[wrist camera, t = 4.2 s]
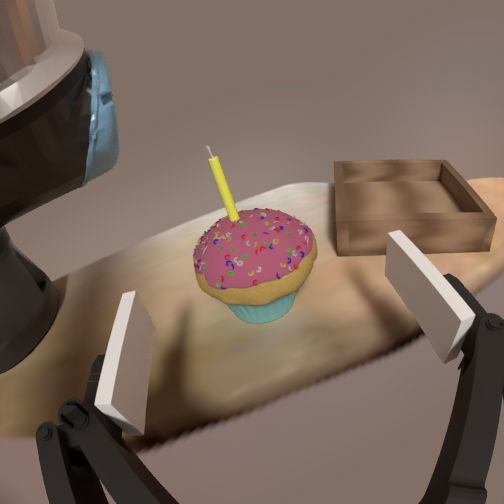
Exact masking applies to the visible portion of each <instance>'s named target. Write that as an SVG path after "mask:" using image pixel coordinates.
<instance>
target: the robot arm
mask: <svg viewBox="0 0 504 504" xmlns="http://www.w3.org/2000/svg"><path fill="white" fill-rule="evenodd" d="M118 156H119V136H118V126H117V118H116V112H115V105H114V102H113V100H112V90H111V81H110V76H109V71H108V66H107V62H106V59H105V57H104V54H103V53H102V52H101V51H100V50H87V51H85V48H84V43H83V40H82V38H81V37H80V36H79V35H77V34H75V33H72V32H69V31H66V30H63V29H60V28H59V24H58V20H57V16H56V11H55V7H54V2H53V0H0V373H2V372H4V371H6V370H8V369H10V368H11V367H13V366H14V365H15V364H17V363H18V362H19V361H21V360H22V359H23V358H24V357H25V356H26V355H27V354H28V353H29V352H30V351H31V350H32V349H33V348H34V347H35V346H36V345H37V344H38V342H39V341H40V340H41V339H42V337H43V336H44V335H45V333H46V332H47V330H48V329H49V327H50V325H51V323H52V321H53V319H54V317H55V315H56V312H57V309H58V304H59V295H58V292H57V290H56V289H55V287H54V285H53V284H52V282H51V281H50V279H49V277H48V276H47V275H46V274H45V273H44V272H43V271H42V270H41V269H39V268H38V267H37V266H36V265H35V264H34V263H33V262H32V261H31V260H30V259H29V258H28V257H27V256H26V255H24V254H23V253H22V252H21V251H20V250H19V249H18V248H17V247H16V246H15V245H14V243H13V242H12V240H11V238H10V236H9V234H8V232H7V230H6V228H5V227H4V225H6V224H8V223H9V222H11V221H13V220H15V219H16V218H19V217H20V216H22V215H24V214H26V213H28V212H30V211H32V210H34V209H36V208H38V207H39V206H42V205H43V204H45V203H48V202H50V201H52V200H54V199H56V198H58V197H60V196H62V195H64V194H66V193H68V192H70V191H73V190H75V189H77V188H80V187H83V186H85V185H86V184H87V183H88V182H89V181H91V180H93V179H95V178H97V177H99V176H101V175H103V174H104V173H106V172H108V171H109V170H111V169H112V168H113V167H114V165H115V164H116V162H117V159H118ZM385 276H386V277H387V279H388V280H389V281H390V283H391V284H392V286H393V287H394V288H395V290H396V291H397V293H398V294H399V296H400V297H401V298H402V300H403V301H404V303H405V304H406V306H407V307H408V309H409V310H410V312H411V313H412V315H413V316H414V318H415V319H416V321H417V322H418V324H419V325H420V327H421V328H422V330H423V331H424V333H425V334H426V336H427V338H428V339H429V341H430V342H431V344H432V346H433V347H434V348H435V350H436V352H437V354H438V355H439V357H440V358H441V360H442V362H443V363H447V362H449V361H451V360H453V359H455V358H457V356H458V354H459V352H460V350H462V352H463V353H464V357H463V359H462V361H461V363H460V365H459V367H458V369H460V368H461V372H460V377H459V383H458V388H457V392H456V397H455V402H454V406H453V410H452V414H451V418H450V422H449V425H448V429H447V432H446V436H445V439H444V443H443V446H442V449H441V452H440V456H439V458H438V461H437V464H436V467H435V470H434V472H433V475H432V478H431V480H430V483H429V485H428V488H427V490H426V493H425V495H424V497H423V498H422V500H421V501H420V502H419V504H485V502H486V498H487V490H486V489H485V487H484V486H485V480H486V477H487V473H488V470H489V466H490V462H491V458H492V454H493V449H494V444H495V440H496V434H497V429H498V423H499V417H500V410H501V403H502V394H503V399H504V320H503V319H502V318H501V317H500V316H498V315H496V314H493V313H487V312H486V311H485V310H484V309H483V308H482V306H481V305H480V304H479V303H478V301H477V300H476V299H475V298H474V297H473V295H472V294H471V293H469V291H468V290H467V289H466V287H464V285H463V284H462V283H461V282H460V281H459V279H458V278H456V277H454V276H452V275H451V274H449V273H448V274H446V275H442V274H441V273H440V272H439V271H438V270H437V269H436V268H435V266H434V265H433V264H432V263H431V262H430V261H429V260H428V259H427V258H426V257H425V255H424V254H423V253H422V252H421V251H420V250H419V249H418V248H417V247H416V246H415V245H414V244H413V243H412V242H411V241H410V240H409V239H408V238H407V237H406V236H405V235H404V234H403V233H402V231H401V230H398V231H393V232H389V233H388V236H387V253H386V266H385ZM155 330H156V327H155V325H154V323H153V321H152V320H151V318H150V316H149V314H148V312H147V311H146V309H145V307H144V305H143V303H142V301H141V299H140V298H139V296H138V294H137V292H136V291H131V292H127V293H123V295H122V298H121V301H120V305H119V308H118V311H117V315H116V318H115V322H114V325H113V329H112V332H111V336H110V340H109V344H108V347H107V351H106V354H105V355H98V357H97V358H96V360H95V361H94V363H93V365H92V369H91V372H90V374H91V375H90V376H89V380H88V381H89V383H88V384H87V388H86V393H85V397H84V401H83V403H82V402H81V401H80V400H79V399H76V398H72V399H69V400H67V401H65V402H64V403H63V404H62V405H61V407H60V409H59V412H58V418H59V421H61V422H62V423H63V425H60V426H56V425H55V424H54V423H52V422H49V421H48V422H44V423H43V424H41V425H40V426H39V428H38V429H37V432H36V442H37V448H38V454H39V460H40V465H41V470H42V475H43V480H44V484H45V488H46V492H47V496H48V500H49V504H109V503H108V501H107V498H106V496H105V493H104V491H103V488H102V485H101V483H100V480H101V482H102V483H103V485H104V486H105V488H106V489H107V491H108V492H109V494H110V495H111V496H112V498H113V499H114V501H115V502H116V503H117V504H179V503H178V502H177V501H176V500H175V499H174V498H173V497H172V496H171V495H170V494H169V493H168V491H167V490H166V489H165V488H164V487H163V486H162V485H161V484H160V483H159V482H158V480H157V479H156V478H155V477H154V476H153V475H152V473H151V472H150V471H149V470H148V469H147V468H146V466H145V465H144V464H143V463H142V461H141V460H140V459H139V458H138V456H137V455H136V454H135V453H134V451H133V450H132V449H131V448H130V446H129V445H128V444H127V442H126V441H125V440H124V439H123V438H122V430H123V431H124V432H125V433H127V434H128V435H144V428H145V416H146V405H147V395H148V385H149V376H150V368H151V360H152V352H153V344H154V337H155ZM99 479H100V480H99Z"/></svg>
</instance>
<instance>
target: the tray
mask: <svg viewBox="0 0 504 504" xmlns="http://www.w3.org/2000/svg"><path fill="white" fill-rule="evenodd" d="M334 178H335V205H336V232H337V253H338V256H365V255H386V253H387V236H388V233H389V232H393V231H398V230H401V231H402V233H403V234H404V235H405V236H406V237H407V238H408V239H409V240H410V241H411V242H412V243H413V244H414V245H415V246H416V247H417V248H418V249H419V250H420V251H421V252H422V253H423V254H427V253H455V252H483V251H490V247H491V243H492V239H493V234H494V230H495V225H496V220H497V217H496V216H495V215H494V214H493V212H492V211H491V210H490V209H489V207H488V206H487V205H486V204H485V203H484V201H483V200H482V199H481V198H480V197H479V195H478V194H477V193H476V192H475V191H474V190H473V188H472V187H471V186H470V185H469V184H468V183H467V182H466V181H465V180H464V179H463V177H462V176H461V175H460V174H459V173H458V172H457V171H456V170H455V169H454V168H453V167H452V166H451V165H450V164H449V163H448V162H447V161H446V160H365V161H342V162H334Z"/></svg>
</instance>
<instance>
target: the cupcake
mask: <svg viewBox="0 0 504 504" xmlns="http://www.w3.org/2000/svg"><path fill="white" fill-rule="evenodd" d="M206 148H207V150H208V153H209V155H210V157H211V158H210V159H208V161H209V164H210V167H211V170H212V172H213V175H214V178H215V180H216V183H217V186H218V188H219V191H220V194H221V197H222V200H223V202H224V205H225V208H226V210H227V213H228V216H226V217H222V218H221V219H219V221H217V222H216V223H214V224H213V225H212V226H211V227H210V229H209V230H207V231H208V232H206V231H205V232H204V234H203V235H204V236H202V237H201V238H199V240H198V242H197V245H196V248H195V249H194V250H193V253H194V254H193V259H194V267H195V273H196V278H197V282H198V284H199V286H200V288H201V289H202V290H203V291H204V292H206V293H207V294H209V295H210V296H212V297H214V298H217V299H219V300H220V301H222V302H224V303H226V304H227V305H228V306H229V307H230V309H231V310H232V311H233V312H234V314H235V315H236V316H237V317H238V318H240V319H241V320H243V321H246V322H249V323H267V322H271V321H274V320H276V319H278V318H280V317H282V316H283V315H284V314H286V313H287V312H288V310H289V309H290V308H291V306H292V304H293V301H294V297H295V293H296V290H297V289H298V288H299V287H300V286H301V285H302V284H303V283H304V281H305V280H306V278H307V276H308V275H309V274H310V272H311V270H312V266H313V263H314V261H315V259H316V258H317V244H316V240H315V236H314V234H313V232H312V231H311V229H310V228H309V227H308V226H307V225H306V223H305V222H304V224H303V222H301V221H300V220H297V219H296V218H295V215H294V217H292V216H290V215H288V214H286V213H283V212H281V211H280V210H277V211H276V210H272V209H267V208H266V209H258V208H255V209H254V210H248V211H247V210H244V211H243V210H242V211H240V212H237V209H236V206H235V203H234V201H233V198H232V195H231V192H230V189H229V187H228V184H227V181H226V178H225V175H224V173H223V170H222V167H221V164H220V161H219V158H218V156H215V157H214V156H213V154H212V152H211V149H210V147H209V146H206Z"/></svg>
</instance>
